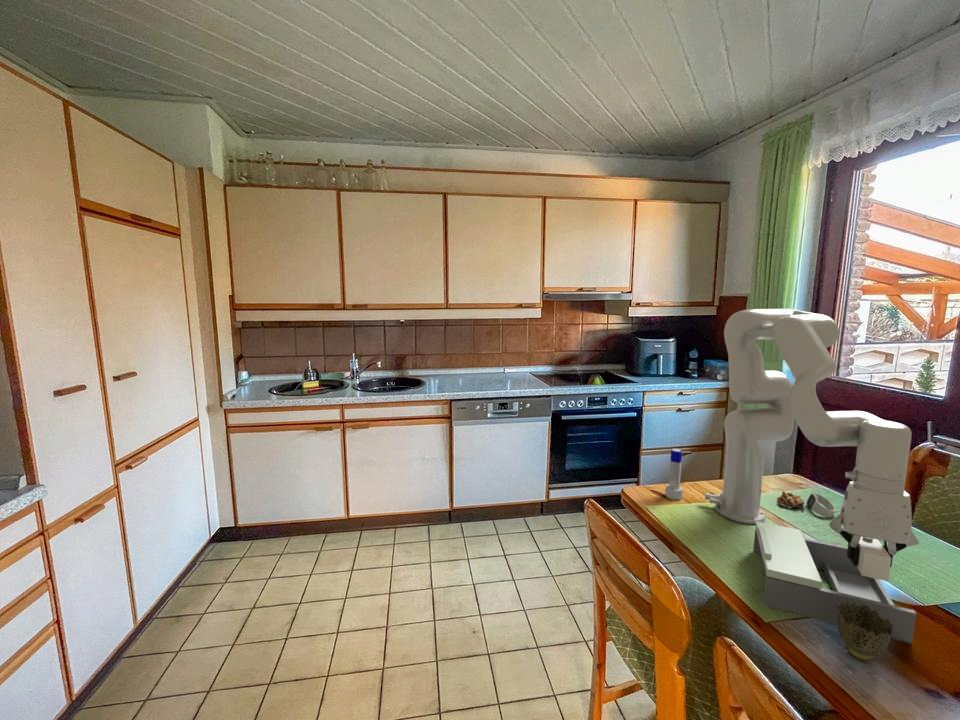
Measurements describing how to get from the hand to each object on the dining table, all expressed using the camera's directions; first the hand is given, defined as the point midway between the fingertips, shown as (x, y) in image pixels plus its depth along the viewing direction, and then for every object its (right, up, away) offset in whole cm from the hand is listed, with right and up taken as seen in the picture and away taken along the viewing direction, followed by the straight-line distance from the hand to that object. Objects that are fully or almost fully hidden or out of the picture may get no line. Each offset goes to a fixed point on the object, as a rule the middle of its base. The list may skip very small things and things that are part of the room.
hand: (868, 564), depth 89 cm
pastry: (+16, -2, +45) cm, 48 cm away
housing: (-6, -8, +5) cm, 11 cm away
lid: (-12, -1, +7) cm, 14 cm away
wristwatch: (+21, -3, +39) cm, 45 cm away
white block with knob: (0, -1, 0) cm, 1 cm away
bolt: (-18, -2, +49) cm, 52 cm away
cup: (-13, -11, -12) cm, 21 cm away
